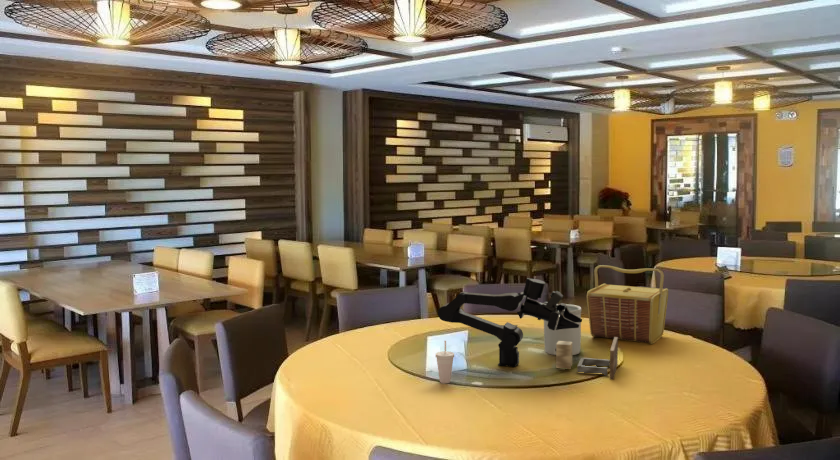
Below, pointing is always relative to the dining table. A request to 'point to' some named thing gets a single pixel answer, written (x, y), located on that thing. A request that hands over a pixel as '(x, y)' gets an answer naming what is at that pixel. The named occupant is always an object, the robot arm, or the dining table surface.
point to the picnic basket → (627, 309)
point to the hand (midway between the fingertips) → (580, 323)
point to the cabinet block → (563, 354)
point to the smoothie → (445, 365)
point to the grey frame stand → (601, 362)
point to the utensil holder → (563, 334)
